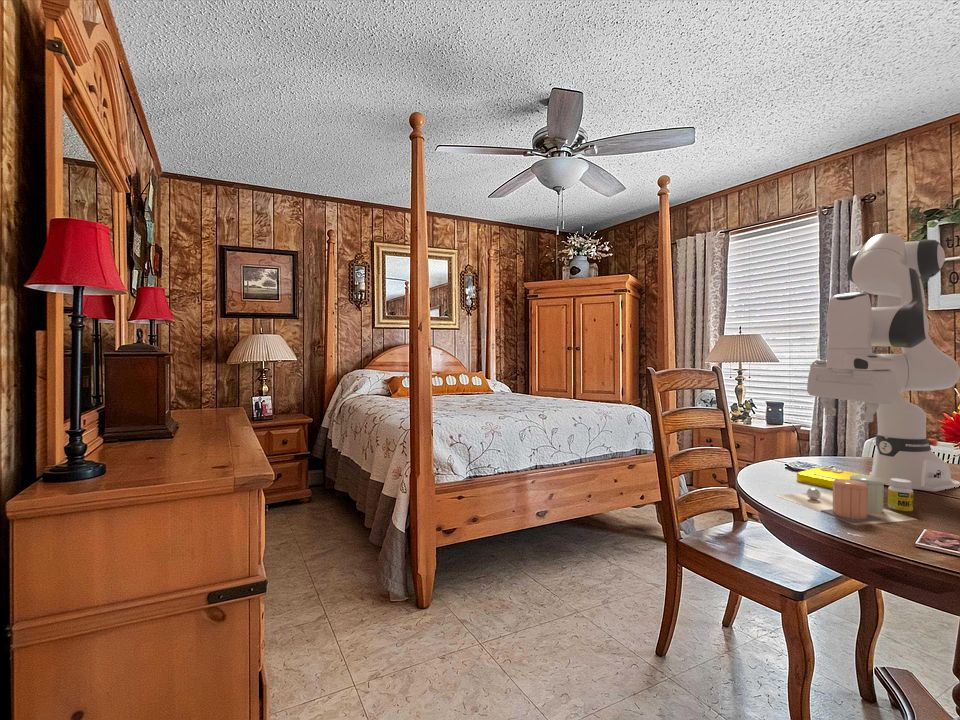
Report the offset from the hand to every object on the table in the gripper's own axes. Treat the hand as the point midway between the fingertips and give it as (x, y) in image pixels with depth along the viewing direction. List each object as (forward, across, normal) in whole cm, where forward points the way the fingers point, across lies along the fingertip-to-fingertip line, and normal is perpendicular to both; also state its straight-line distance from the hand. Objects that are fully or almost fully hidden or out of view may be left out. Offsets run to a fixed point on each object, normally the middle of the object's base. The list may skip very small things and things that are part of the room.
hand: (848, 418), depth 117 cm
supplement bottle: (+24, 0, +15) cm, 29 cm away
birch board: (+24, -4, +2) cm, 25 cm away
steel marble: (+21, -10, 0) cm, 23 cm away
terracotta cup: (+22, +2, -2) cm, 22 cm away
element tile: (+25, -22, +20) cm, 39 cm away
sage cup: (+23, -1, +6) cm, 24 cm away
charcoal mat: (+23, +2, -2) cm, 23 cm away
